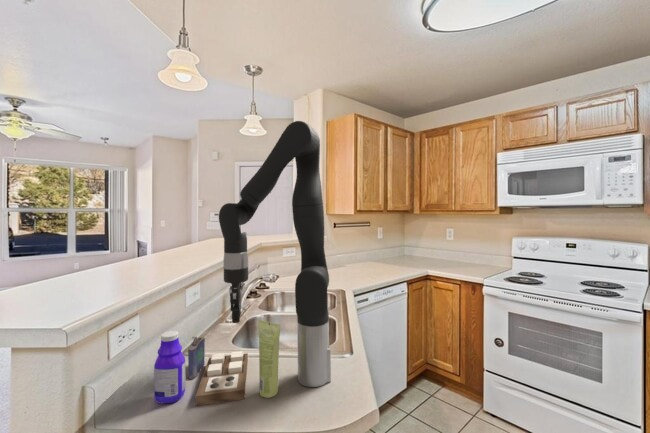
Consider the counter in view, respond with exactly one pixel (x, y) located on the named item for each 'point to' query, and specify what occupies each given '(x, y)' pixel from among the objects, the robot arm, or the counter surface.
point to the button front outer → (214, 370)
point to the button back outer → (218, 358)
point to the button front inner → (235, 367)
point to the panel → (222, 384)
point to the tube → (268, 358)
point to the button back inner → (237, 356)
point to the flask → (196, 357)
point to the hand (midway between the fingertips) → (236, 319)
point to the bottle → (169, 369)
